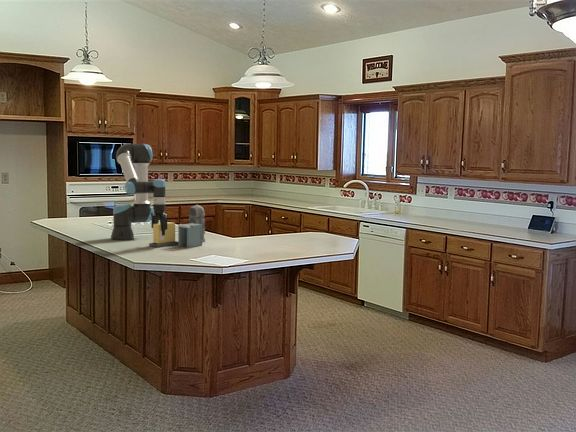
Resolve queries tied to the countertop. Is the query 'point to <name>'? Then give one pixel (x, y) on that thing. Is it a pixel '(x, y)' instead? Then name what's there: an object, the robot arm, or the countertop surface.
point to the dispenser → (190, 235)
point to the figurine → (197, 217)
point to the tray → (163, 244)
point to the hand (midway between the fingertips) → (159, 239)
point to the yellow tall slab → (168, 235)
